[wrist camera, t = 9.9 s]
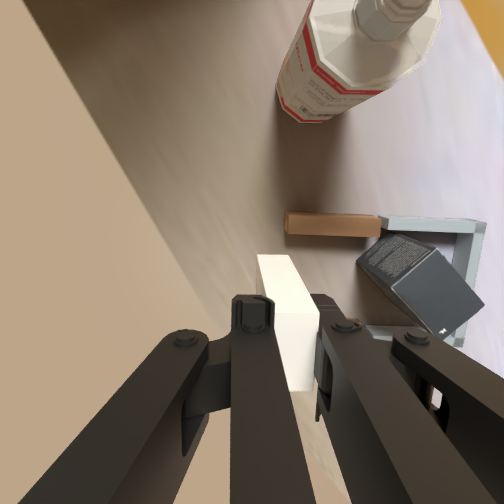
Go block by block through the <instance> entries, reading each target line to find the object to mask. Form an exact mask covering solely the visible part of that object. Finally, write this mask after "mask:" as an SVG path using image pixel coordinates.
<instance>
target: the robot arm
mask: <svg viewBox="0 0 504 504" xmlns="http://www.w3.org/2000/svg"><path fill="white" fill-rule="evenodd" d="M315 377H316V380H317V383H318V391H317V403H316V415H315V420H316V422H319V417H320V415H321V414H322V416H323V419H324V422H325V425H326V428H327V431H328V434H329V437H330V440H331V443H332V446H333V449H334V452H335V455H336V458H337V461H338V464H339V467H340V470H341V473H342V476H343V479H344V482H345V485H346V488H347V491H348V494H349V497H350V500H351V503H352V504H504V379H503V378H502V377H500V376H499V375H497V374H495V373H494V372H492V371H491V370H489V369H487V368H486V367H484V366H483V365H481V364H479V363H478V362H476V361H475V360H473V359H471V358H470V357H468V356H467V355H465V354H463V353H462V352H460V351H459V350H457V349H455V348H454V347H452V346H451V345H449V344H447V343H446V342H444V341H443V340H441V339H439V338H438V337H436V336H435V335H433V334H430V333H428V332H426V331H422V330H421V329H418V328H415V329H414V328H401V329H398V330H396V331H395V332H394V333H393V338H392V341H387V340H381V339H375V338H372V336H371V335H370V334H369V333H368V331H367V330H366V329H365V327H363V326H362V325H361V324H359V323H358V322H355V321H352V320H348V319H346V317H345V316H344V314H343V313H342V312H341V310H340V309H339V307H338V306H337V304H336V303H335V301H334V300H333V299H332V298H330V297H329V296H327V295H325V294H309V292H308V290H307V289H306V287H305V285H304V283H303V281H302V279H301V278H300V276H299V274H298V272H297V270H296V268H295V267H294V265H293V263H292V261H291V259H290V257H289V255H257V269H256V295H236V296H235V297H234V298H233V299H232V318H231V332H230V333H229V334H228V335H227V336H225V337H223V338H221V339H218V340H214V341H209V339H208V337H207V335H206V334H204V333H203V332H200V331H196V330H188V329H183V330H178V331H175V332H172V333H170V334H168V335H167V336H165V337H164V338H163V339H162V340H161V342H160V343H159V344H158V345H157V346H156V347H155V348H154V349H153V351H152V352H151V353H150V354H149V355H148V356H147V358H146V359H145V360H144V361H143V362H142V363H141V364H140V365H139V367H138V368H137V369H136V370H135V371H134V372H133V373H132V375H131V376H130V377H129V378H128V379H127V380H126V381H125V382H124V384H123V385H122V386H121V387H120V388H119V389H118V390H117V391H116V393H115V394H114V395H113V396H112V397H111V398H110V400H109V401H108V402H107V403H106V404H105V405H104V406H103V407H102V409H101V410H100V411H99V412H98V413H97V414H96V415H95V417H94V418H93V419H92V420H91V421H90V422H89V423H88V424H87V426H86V427H85V428H84V429H83V430H82V431H81V432H80V434H79V435H78V436H77V437H76V438H75V439H74V440H73V442H72V443H71V444H70V445H69V446H68V447H67V448H66V450H65V451H64V452H63V453H62V454H61V455H60V456H59V457H58V459H57V460H56V461H55V462H54V463H53V464H52V465H51V466H50V468H49V469H48V470H47V471H46V472H45V473H44V474H43V476H42V477H41V478H40V479H39V480H38V481H37V482H36V484H35V485H34V486H33V487H32V488H31V489H30V490H29V492H28V493H27V494H26V495H25V496H24V497H23V499H21V501H20V502H19V503H18V504H173V502H174V500H175V497H176V495H177V493H178V490H179V488H180V485H181V483H182V481H183V479H184V476H185V474H186V472H187V470H188V467H189V465H190V462H191V460H192V458H193V456H194V453H195V451H196V449H197V447H198V444H199V442H200V439H201V437H202V435H203V433H204V430H205V428H206V426H207V423H208V420H209V413H210V412H214V411H218V410H222V409H226V408H230V407H231V424H230V427H231V428H230V432H231V433H230V504H316V501H315V496H314V492H313V488H312V484H311V480H310V475H309V472H308V467H307V463H306V459H305V455H304V450H303V446H302V442H301V438H300V434H299V430H298V425H297V421H296V417H295V413H294V409H293V405H292V400H291V396H290V392H289V391H314V379H315ZM434 387H435V388H436V389H437V390H439V391H440V392H441V393H442V394H443V395H442V400H441V406H440V408H437V407H435V406H434V405H433V404H432V403H431V401H432V395H433V390H434Z"/></svg>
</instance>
